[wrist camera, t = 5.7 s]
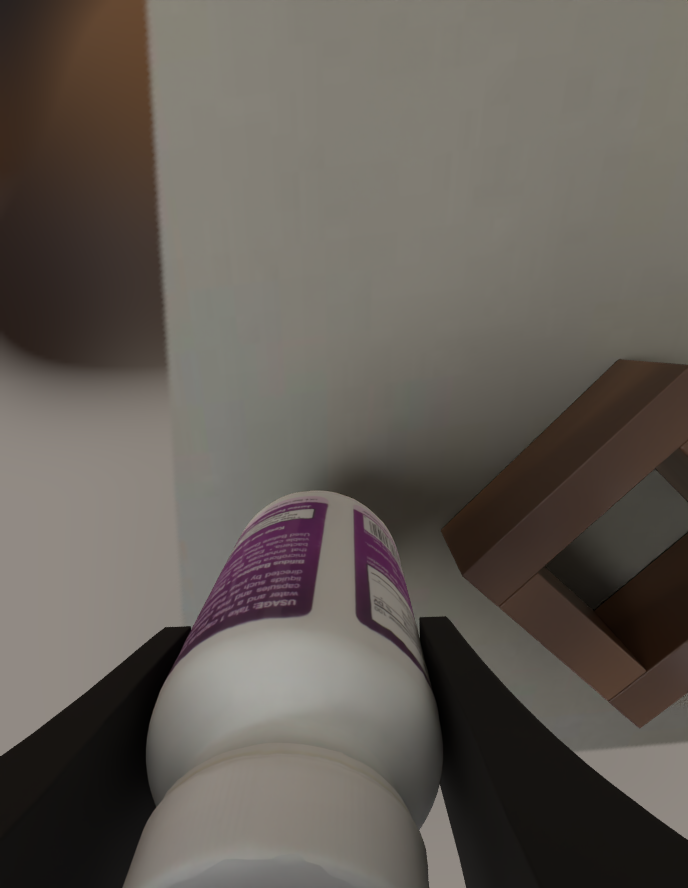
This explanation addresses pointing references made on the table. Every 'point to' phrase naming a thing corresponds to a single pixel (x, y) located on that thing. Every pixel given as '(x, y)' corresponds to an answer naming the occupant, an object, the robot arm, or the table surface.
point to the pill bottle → (296, 716)
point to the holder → (569, 514)
